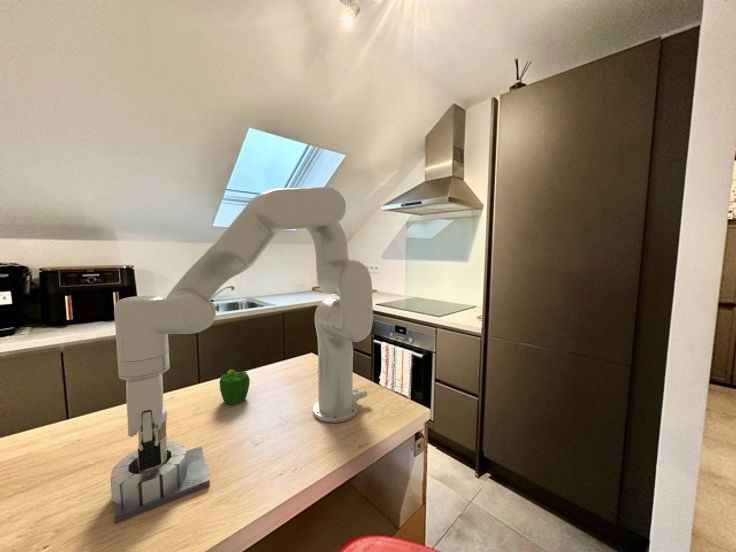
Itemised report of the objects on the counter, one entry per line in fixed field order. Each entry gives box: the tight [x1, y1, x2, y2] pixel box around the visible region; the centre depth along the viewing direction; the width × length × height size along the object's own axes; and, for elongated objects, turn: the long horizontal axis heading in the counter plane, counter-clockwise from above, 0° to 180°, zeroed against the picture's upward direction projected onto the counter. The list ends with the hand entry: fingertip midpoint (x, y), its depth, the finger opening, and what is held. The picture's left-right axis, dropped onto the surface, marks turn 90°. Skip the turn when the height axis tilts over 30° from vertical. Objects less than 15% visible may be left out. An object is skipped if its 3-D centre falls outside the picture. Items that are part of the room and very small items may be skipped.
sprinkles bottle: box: [138, 406, 168, 474], centre depth 57 cm, size 5×5×13 cm
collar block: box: [110, 441, 211, 524], centre depth 58 cm, size 15×12×5 cm
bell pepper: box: [219, 369, 251, 406], centre depth 90 cm, size 8×8×10 cm
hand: (150, 455), depth 57 cm, fingers open, 5 cm apart
